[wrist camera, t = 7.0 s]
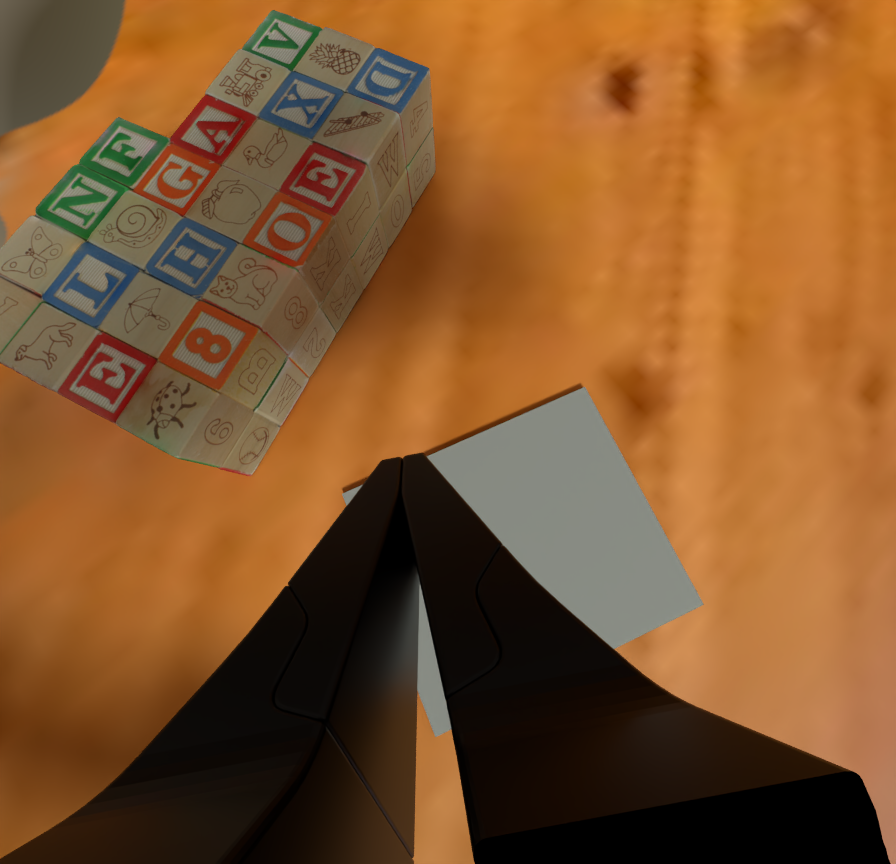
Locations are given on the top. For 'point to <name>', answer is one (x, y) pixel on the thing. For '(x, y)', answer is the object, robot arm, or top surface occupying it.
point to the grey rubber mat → (563, 526)
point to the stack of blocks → (221, 244)
